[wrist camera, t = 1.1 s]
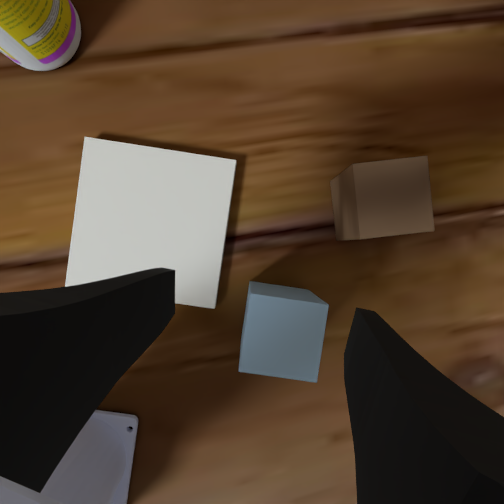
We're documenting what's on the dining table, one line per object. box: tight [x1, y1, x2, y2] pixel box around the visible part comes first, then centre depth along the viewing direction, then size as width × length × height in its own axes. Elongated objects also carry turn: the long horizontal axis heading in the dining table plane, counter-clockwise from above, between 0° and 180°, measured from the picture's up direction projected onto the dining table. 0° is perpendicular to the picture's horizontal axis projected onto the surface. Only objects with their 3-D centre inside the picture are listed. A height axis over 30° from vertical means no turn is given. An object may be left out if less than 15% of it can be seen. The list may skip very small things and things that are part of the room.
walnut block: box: [330, 156, 434, 241], centre depth 21 cm, size 5×5×5 cm
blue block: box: [239, 281, 329, 383], centre depth 20 cm, size 5×5×6 cm
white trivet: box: [65, 137, 237, 309], centre depth 22 cm, size 12×12×1 cm
